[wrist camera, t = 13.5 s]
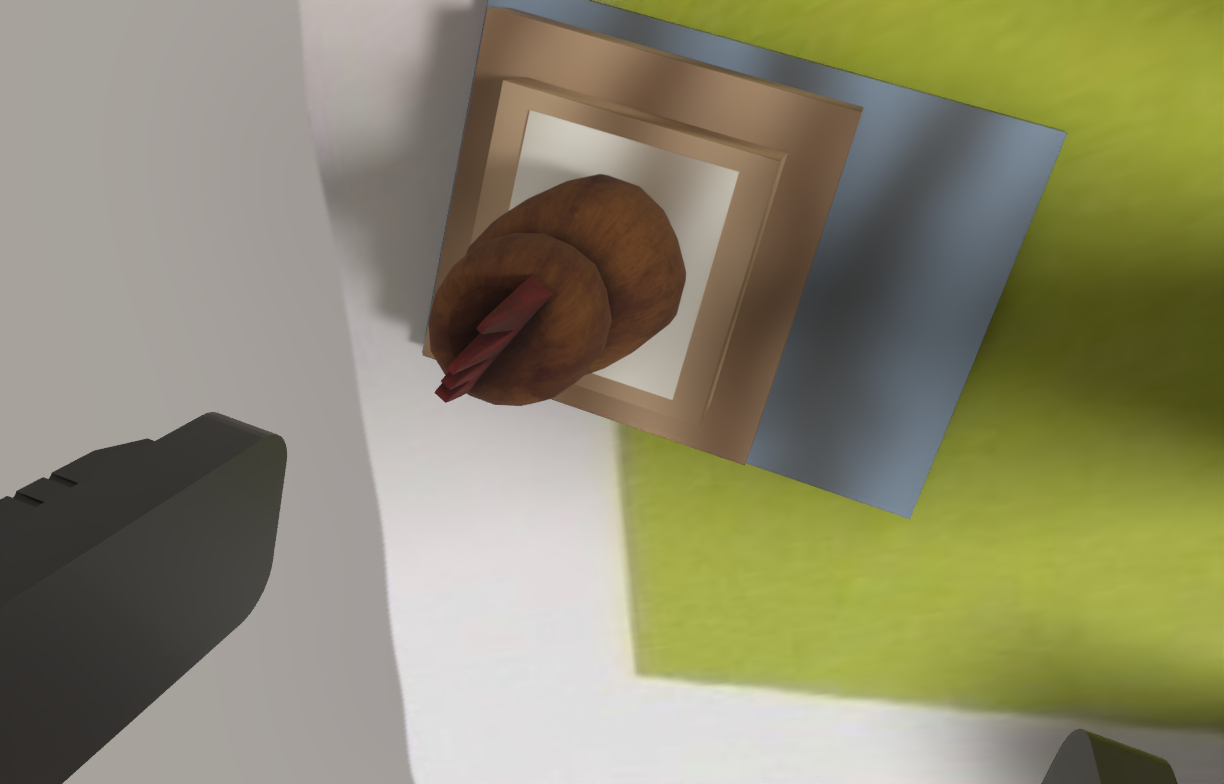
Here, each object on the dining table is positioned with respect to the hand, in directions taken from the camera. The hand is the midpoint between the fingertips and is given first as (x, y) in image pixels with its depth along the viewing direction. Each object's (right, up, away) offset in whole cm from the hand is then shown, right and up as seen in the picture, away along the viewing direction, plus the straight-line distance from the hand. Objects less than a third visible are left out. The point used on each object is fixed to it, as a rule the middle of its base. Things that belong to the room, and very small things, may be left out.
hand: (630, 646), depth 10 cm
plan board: (+4, +8, +32) cm, 34 cm away
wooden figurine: (0, +7, +27) cm, 28 cm away
